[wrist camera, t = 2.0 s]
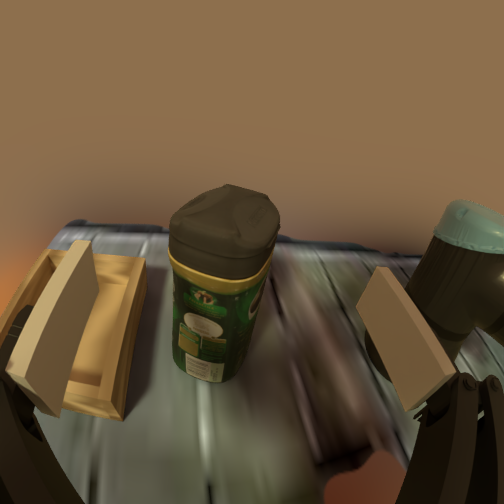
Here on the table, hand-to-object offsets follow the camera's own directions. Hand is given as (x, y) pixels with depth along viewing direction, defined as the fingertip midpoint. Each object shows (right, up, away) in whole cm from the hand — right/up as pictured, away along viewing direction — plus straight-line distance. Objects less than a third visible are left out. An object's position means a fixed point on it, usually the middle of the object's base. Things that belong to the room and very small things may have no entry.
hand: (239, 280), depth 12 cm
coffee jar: (-4, -10, +19) cm, 22 cm away
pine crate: (-21, -9, +15) cm, 27 cm away
